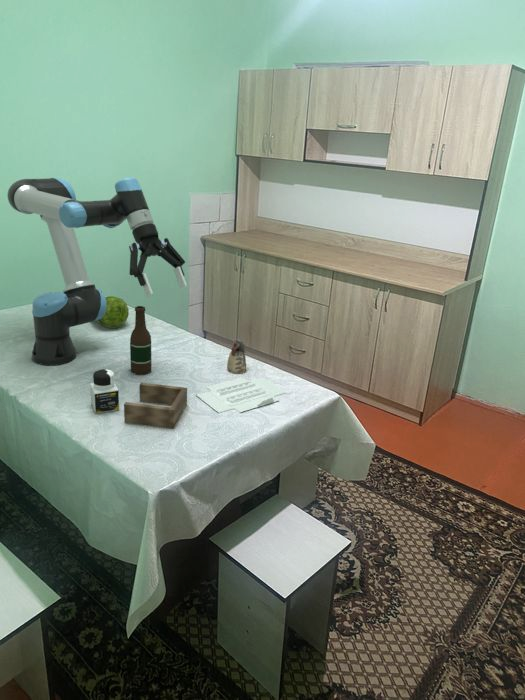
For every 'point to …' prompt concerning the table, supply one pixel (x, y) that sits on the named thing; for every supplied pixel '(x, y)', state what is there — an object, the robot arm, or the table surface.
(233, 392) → the tray
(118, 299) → the lettuce
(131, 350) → the beer bottle
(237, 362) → the figurine
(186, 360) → the table surface
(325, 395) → the table surface
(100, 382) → the medicine bottle
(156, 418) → the box
